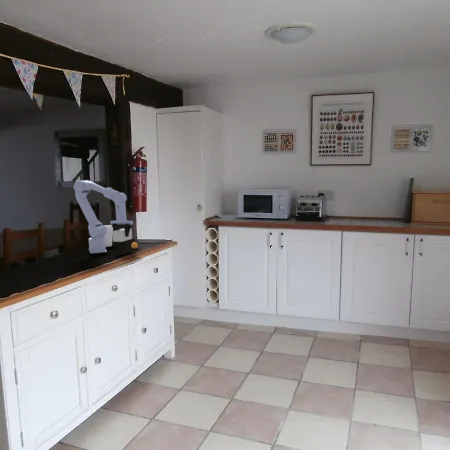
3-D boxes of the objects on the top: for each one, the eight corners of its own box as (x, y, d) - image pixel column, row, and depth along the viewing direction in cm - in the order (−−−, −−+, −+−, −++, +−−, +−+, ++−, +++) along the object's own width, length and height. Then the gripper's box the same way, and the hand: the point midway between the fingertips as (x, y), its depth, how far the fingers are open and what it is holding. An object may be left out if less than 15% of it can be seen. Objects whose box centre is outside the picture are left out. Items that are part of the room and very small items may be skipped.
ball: (132, 249, 255) (131, 242, 255) (131, 248, 259) (130, 242, 259) (138, 248, 257) (138, 242, 256) (137, 247, 260) (137, 241, 260)
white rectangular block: (124, 238, 252) (123, 228, 251) (132, 238, 250) (131, 228, 249) (113, 241, 242) (112, 231, 241) (121, 241, 240) (120, 231, 239)
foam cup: (111, 246, 267) (110, 226, 266) (97, 247, 268) (95, 227, 266) (115, 244, 277) (114, 225, 275) (102, 244, 277) (100, 225, 275)
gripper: (135, 212, 245) (136, 235, 247) (114, 212, 251) (116, 235, 252) (128, 214, 239) (129, 237, 240) (107, 214, 244) (109, 237, 246)
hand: (122, 236), depth 246 cm, fingers closed on white rectangular block, 6 cm apart
